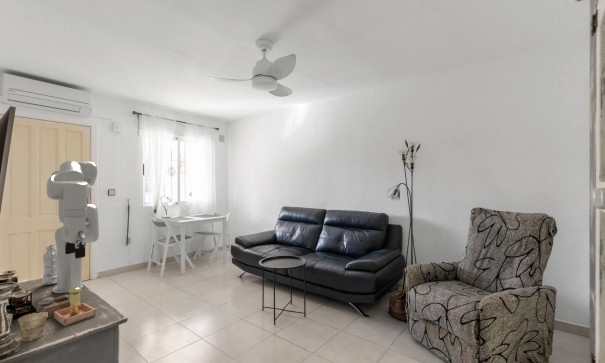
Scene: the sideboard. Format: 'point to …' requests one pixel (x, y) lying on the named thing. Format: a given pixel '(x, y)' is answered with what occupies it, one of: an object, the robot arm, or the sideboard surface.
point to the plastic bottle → (50, 265)
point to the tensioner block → (53, 304)
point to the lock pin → (74, 300)
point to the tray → (85, 313)
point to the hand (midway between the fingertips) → (75, 255)
